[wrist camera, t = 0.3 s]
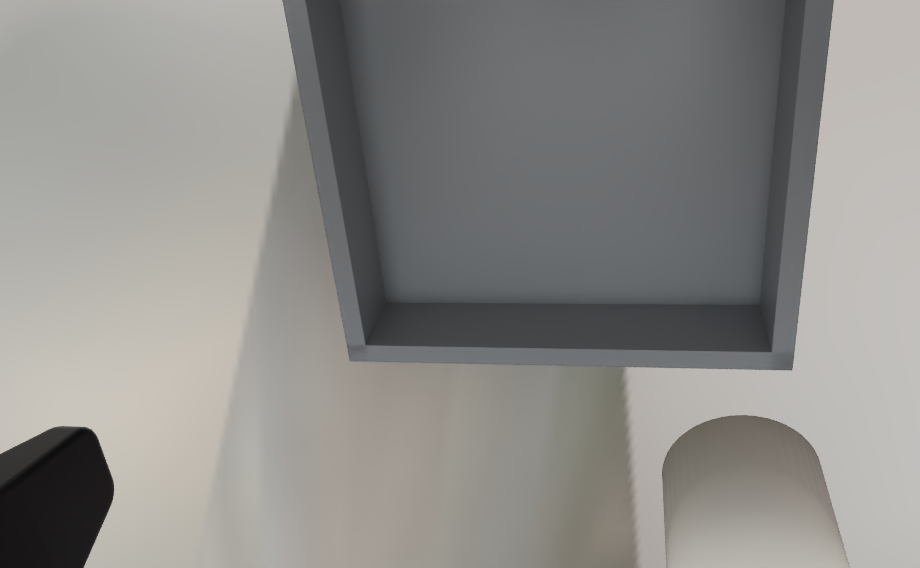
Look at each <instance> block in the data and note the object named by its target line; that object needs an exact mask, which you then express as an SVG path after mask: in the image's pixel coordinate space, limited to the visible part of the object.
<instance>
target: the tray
mask: <svg viewBox="0 0 920 568" xmlns="http://www.w3.org/2000/svg"><path fill="white" fill-rule="evenodd" d="M833 1H834V0H283V5H284V10H285V15H286V21H287V26H288V31H289V37H290V42H291V47H292V53H293V58H294V64H295V69H296V75H297V80H298V85H299V91H300V96H301V101H302V107H303V112H304V117H305V123H306V128H307V133H308V139H309V144H310V150H311V155H312V160H313V166H314V171H315V176H316V182H317V187H318V192H319V198H320V203H321V208H322V214H323V219H324V225H325V230H326V235H327V241H328V246H329V251H330V257H331V262H332V267H333V273H334V278H335V284H336V289H337V294H338V300H339V305H340V310H341V316H342V321H343V326H344V332H345V337H346V342H347V348H348V353H349V359H350V361H369V362H418V363H466V364H514V365H562V366H610V367H659V368H707V369H755V370H757V369H758V370H792V368H793V359H794V350H795V340H796V332H797V323H798V314H799V305H800V296H801V288H802V279H803V269H804V261H805V252H806V243H807V234H808V224H809V215H810V207H811V198H812V189H813V180H814V172H815V162H816V154H817V144H818V136H819V127H820V118H821V108H822V100H823V91H824V82H825V72H826V64H827V55H828V46H829V37H830V28H831V20H832V11H833Z"/></svg>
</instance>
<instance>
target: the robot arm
mask: <svg viewBox="0 0 920 568" xmlns="http://www.w3.org/2000/svg"><path fill="white" fill-rule="evenodd" d="M113 495H114V483H113V479H112V476H111V473H110V470H109V468H108V465H107V462H106V460H105V457H104V454H103V451H102V449H101V446H100V443H99V440H98V438H97V436H96V434H95V433H94V432H93V431H92V430H91V429H89V428H86V427H67V426H65V427H64V426H60V427H54V428H52V429H49V430H47V431H45V432H43V433H41V434H40V435H37V436H35V437H33V438H32V439H29V440H28V441H25V442H23V443H21V444H19V445H17V446H15V447H13V448H12V449H9V450H7V451H6V452H3V453H2V454H0V568H84V565H85V563H86V561H87V558H88V556H89V554H90V552H91V549H92V547H93V545H94V543H95V540H96V538H97V536H98V533H99V531H100V529H101V527H102V524H103V522H104V520H105V517H106V515H107V513H108V511H109V508H110V506H111V503H112V500H113Z"/></svg>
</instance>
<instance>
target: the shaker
mask: <svg viewBox="0 0 920 568" xmlns="http://www.w3.org/2000/svg"><path fill="white" fill-rule="evenodd" d="M662 478H663V500H664V522H665V543H666V565H667V568H850V567H849V563H848V559H847V556H846V552H845V549H844V545H843V542H842V538H841V535H840V531H839V528H838V524H837V521H836V517H835V514H834V510H833V507H832V503H831V500H830V496H829V493H828V489H827V486H826V482H825V479H824V475H823V472H822V469H821V465H820V461H819V459H818V456H817V454H816V452H815V450H814V448H813V447H812V446H811V445H810V443H809V442H808V441H807V440H806V439H805V438H804V437H803V436H802V435H801V434H799V433H798V432H797V431H795V430H794V429H792V428H790V427H788V426H787V425H784V424H782V423H780V422H777V421H774V420H771V419H767V418H762V417H757V416H746V415H745V416H744V415H742V416H727V417H721V418H717V419H713V420H710V421H707V422H704V423H702V424H700V425H697V426H695V427H693V428H692V429H690V430H689V431H687V432H686V433H685V434H683V435H682V436H681V437H679V439H678V440H677V441H676V442H675V443H674V444H673V446H672V447H671V448H670V450H669V451H668V453H667V456H666V458H665V461H664V464H663V470H662Z"/></svg>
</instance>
